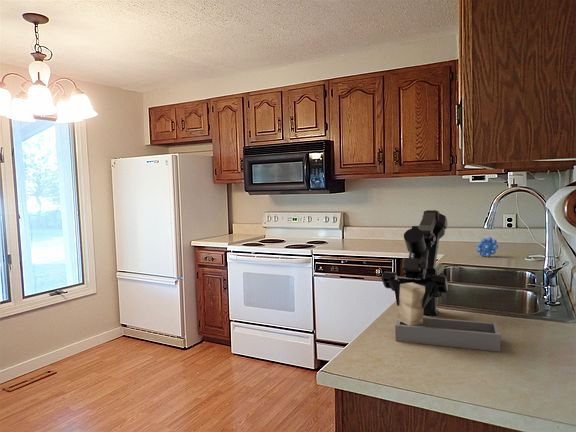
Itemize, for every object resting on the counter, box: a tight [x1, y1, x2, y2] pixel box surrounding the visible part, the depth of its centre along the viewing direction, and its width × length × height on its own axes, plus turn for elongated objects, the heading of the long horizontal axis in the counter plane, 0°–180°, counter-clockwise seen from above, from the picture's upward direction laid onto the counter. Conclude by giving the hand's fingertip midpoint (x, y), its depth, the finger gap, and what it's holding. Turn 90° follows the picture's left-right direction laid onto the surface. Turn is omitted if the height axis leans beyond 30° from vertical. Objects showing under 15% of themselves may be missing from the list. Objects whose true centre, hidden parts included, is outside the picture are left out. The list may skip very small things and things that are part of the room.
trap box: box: [394, 316, 501, 353], centre depth 119 cm, size 10×27×4 cm, turn 68°
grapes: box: [476, 236, 499, 257], centre depth 247 cm, size 12×7×12 cm, turn 57°
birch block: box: [397, 282, 425, 326], centre depth 122 cm, size 5×5×11 cm
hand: (410, 306), depth 121 cm, fingers closed on birch block, 7 cm apart
